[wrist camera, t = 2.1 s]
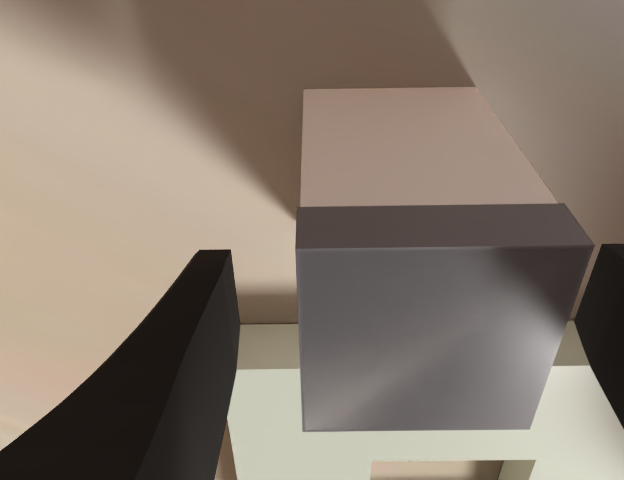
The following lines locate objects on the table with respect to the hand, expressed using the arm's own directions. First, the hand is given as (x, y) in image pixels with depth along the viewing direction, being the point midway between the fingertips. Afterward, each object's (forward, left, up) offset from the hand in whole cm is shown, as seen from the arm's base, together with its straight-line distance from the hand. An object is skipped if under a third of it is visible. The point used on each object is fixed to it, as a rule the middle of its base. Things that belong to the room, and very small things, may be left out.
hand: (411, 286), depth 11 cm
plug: (0, 0, -5) cm, 5 cm away
